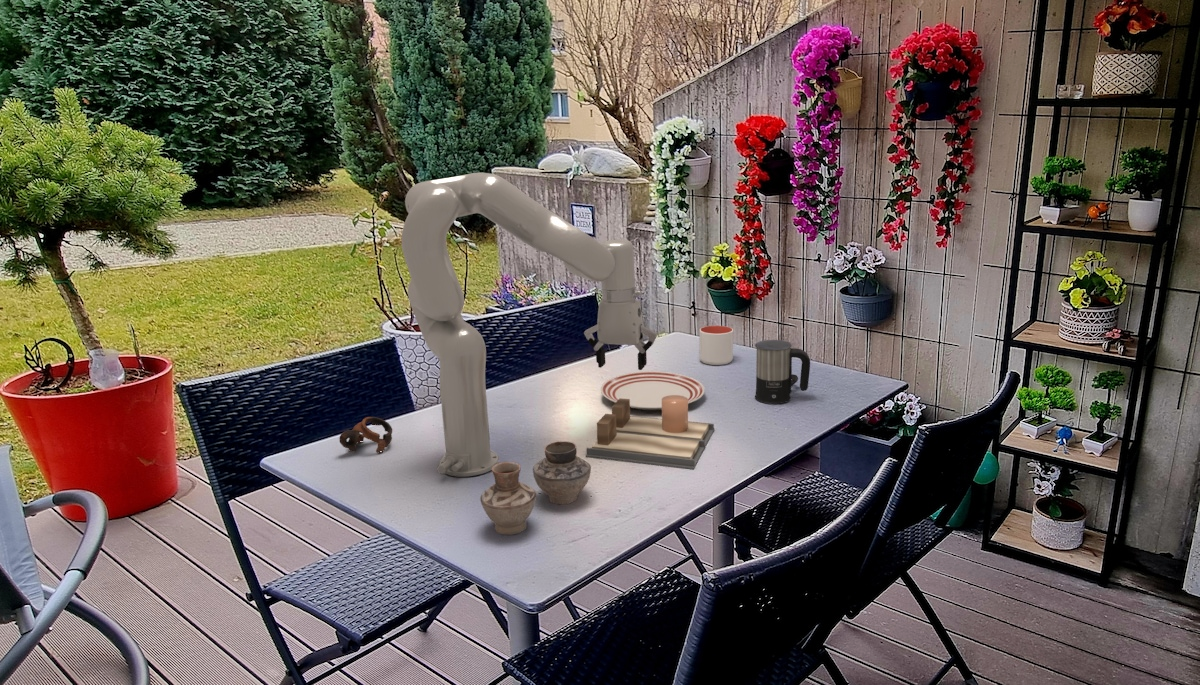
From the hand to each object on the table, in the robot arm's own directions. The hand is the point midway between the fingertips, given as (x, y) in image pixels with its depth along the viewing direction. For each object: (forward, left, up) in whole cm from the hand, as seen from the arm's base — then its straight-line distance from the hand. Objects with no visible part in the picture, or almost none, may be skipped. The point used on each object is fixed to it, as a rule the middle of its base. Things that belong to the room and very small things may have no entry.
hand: (621, 367), depth 179 cm
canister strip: (0, -9, -16) cm, 18 cm away
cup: (+60, -11, -16) cm, 63 cm away
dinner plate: (+24, -1, -16) cm, 29 cm away
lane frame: (-6, -9, -16) cm, 19 cm away
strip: (-11, -9, -16) cm, 21 cm away
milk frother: (+35, -32, -16) cm, 50 cm away
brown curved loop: (-26, +54, -16) cm, 62 cm away
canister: (0, -13, -14) cm, 19 cm away
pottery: (-42, +3, -16) cm, 45 cm away
